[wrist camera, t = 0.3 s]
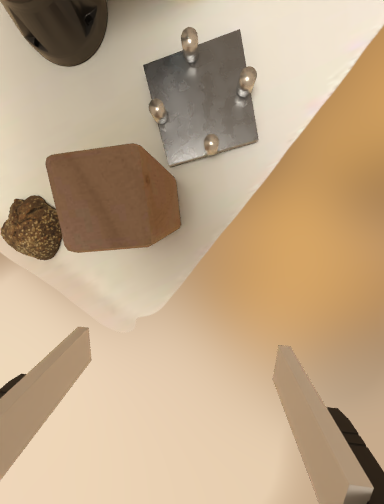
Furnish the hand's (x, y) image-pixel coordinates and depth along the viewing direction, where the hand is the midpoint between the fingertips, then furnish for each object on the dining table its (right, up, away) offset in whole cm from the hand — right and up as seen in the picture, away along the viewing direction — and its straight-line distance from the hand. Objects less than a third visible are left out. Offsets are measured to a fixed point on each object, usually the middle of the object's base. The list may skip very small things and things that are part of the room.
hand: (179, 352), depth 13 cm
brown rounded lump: (-32, +12, +28) cm, 45 cm away
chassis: (+3, +32, +20) cm, 38 cm away
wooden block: (-7, +16, +25) cm, 31 cm away
